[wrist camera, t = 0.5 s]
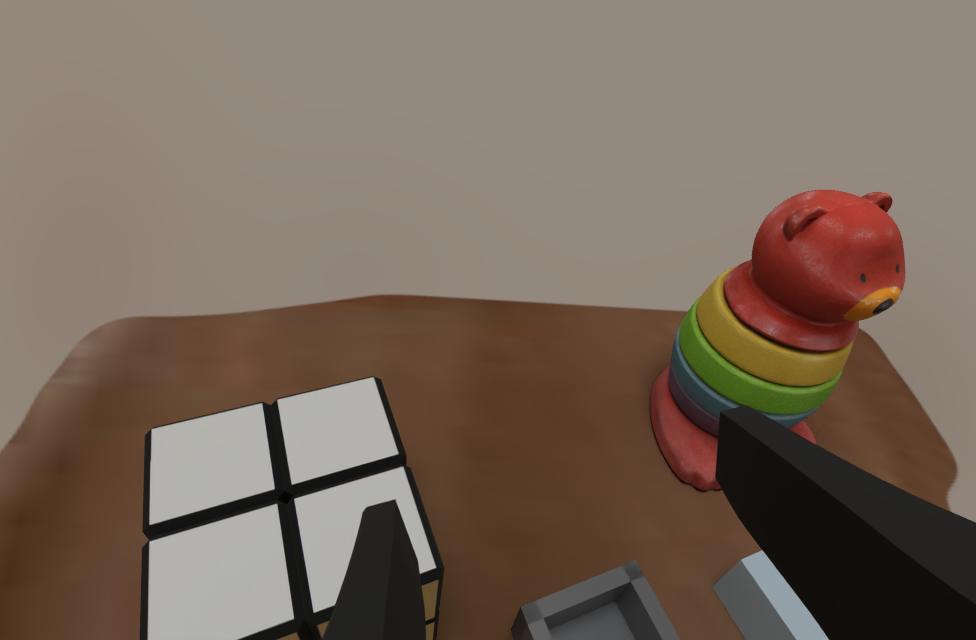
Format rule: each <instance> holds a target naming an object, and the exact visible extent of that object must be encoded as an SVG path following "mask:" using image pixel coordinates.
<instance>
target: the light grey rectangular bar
mask: <svg viewBox="0 0 976 640" xmlns="http://www.w3.org/2000/svg"><path fill="white" fill-rule="evenodd" d="M712 587H713V589H714V591H715V592H716V594H717V595H718V597H719V598H720V600H721V601H722V603H723V605H724V606H725V608H726V609H727V611H728V612H729V614H730V616H731V617H732V619H733V620H734V622H735V623H736V625H737V626H738V628H739V630H740V631H741V633H742V634H743V636H744V637H745V639H746V640H829V639H828V638H827V636H826V635H825V633H824V632H823V630H822V629H821V628H820V626H819V625H818V623H817V622H816V620H815V619H814V618H813V616H812V615H811V613H810V612H809V611H808V609H807V608H806V607H805V605H804V604H803V603H802V602H801V600H800V599H799V598H798V596H797V595H796V594H795V592H794V591H793V590H792V588H791V587H790V586H789V584H788V583H787V582H786V581H785V579H784V578H783V577H782V575H781V574H780V573H779V571H778V570H777V569H776V567H775V566H774V565H773V563H772V562H771V561H770V560H769V558H768V557H767V556H766V554H765V553H764V552H763V550H762V551H760V552H758V553H755V554H753V555H751V556H749V557H746V558H744V559H742V560H740V561H739V562H738V563H737V564H736V565H735V566H734V567H733V568H732V569H731V570H730V571H729V572H727V573H726V574H725V575H724V576H723V577H722V578H721V579H720V580H719V581H718V582H717V583H716V584H715V585H714V586H712Z"/></svg>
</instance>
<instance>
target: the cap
mask: <svg viewBox="0 0 976 640" xmlns="http://www.w3.org/2000/svg"><path fill="white" fill-rule="evenodd" d="M511 631H512V634H513V636H514V639H515V640H680V638H679V636H678V635H677V633H676V631H675V629H674V628H673V626H672V624H671V622H670V620H669V619H668V617H667V615H666V613H665V612H664V610H663V608H662V606H661V604H660V603H659V601H658V599H657V597H656V596H655V594H654V592H653V590H652V588H651V587H650V585H649V583H648V581H647V580H646V578H645V576H644V574H643V572H642V571H641V569H640V567H639V565H638V564H637V562H636V560H635V561H632V562H630V563H627V564H625V565H622V566H620V567H618V568H615V569H613V570H610V571H608V572H605V573H603V574H600V575H598V576H595V577H593V578H591V579H588V580H586V581H583V582H581V583H578V584H576V585H573V586H571V587H568V588H566V589H563V590H561V591H559V592H556V593H554V594H551V595H549V596H546V597H544V598H541V599H539V600H536V601H534V602H532V603H529V604H527V605H524V606H522V607H520V610H519V612H518V614H517V617H516V619H515V621H514V624H513V626H512V628H511Z"/></svg>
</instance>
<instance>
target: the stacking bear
mask: <svg viewBox="0 0 976 640" xmlns="http://www.w3.org/2000/svg"><path fill="white" fill-rule="evenodd" d="M891 205H892V198H891V196H890V195H888V194H886V193H881V192H873V193H869V194H867V195H865V196H863V197H858V196H856V195H853V194H849V193H846V192H841V191H835V190H814V191H807V192H803V193H800V194H798V195H795V196H793V197H791V198H789V199H787V200H785V201H784V202H782V203H781V204H779V205H778V206H777V207H776V208H774V209H773V211H771V212H770V213H769V214H768V216H767V217H766V218H765V220H764V221H763V223H762V225H761V226H760V228H759V230H758V232H757V235H756V237H755V240H754V244H753V250H752V260H750V261H747V262H744V263H742V264H740V265H739V266H737V267H734V268H731V269H729V270H727V271H725V272H724V273H722V274H721V275H720V276H719V277H718V278H717V279H716V280H715V281H714V282H713V283H712V284H711V285H710V286H709V287H708V288H707V289H706V291H705V292H704V293H703V294H702V296H700V297H699V298H698V299H697V301H696V302H695V303H694V304H693V305H692V307H691V308H690V310H689V311H688V313H687V314H686V316H685V317H684V319H683V321H682V323H681V325H680V327H679V329H678V331H677V334H676V337H675V341H674V345H673V350H672V359H671V364H670V365H669V366H668V367H667V368H665V369H664V370H663V371H662V372H661V373H660V375H659V376H658V377H657V379H656V381H655V382H654V385H653V388H652V392H651V401H650V411H651V420H652V425H653V429H654V433H655V436H656V439H657V441H658V444H659V446H660V448H661V451H662V453H663V455H664V456H665V458H666V460H667V462H668V463H669V465H670V467H671V468H672V470H673V471H674V472H675V474H676V475H677V476H678V477H679V478H680V479H681V480H682V481H683V482H685V483H688V484H691V485H693V486H694V487H696V488H697V489H700V490H709V489H715V490H717V489H721V487H720V485H719V483H718V482H717V480H716V478H715V473H716V459H717V446H718V432H719V419H720V412H721V411H725V410H728V409H732V408H736V407H739V406H743V405H747V406H749V407H751V408H753V409H755V410H757V411H758V412H760V413H762V414H764V415H765V416H767V417H769V418H771V419H772V420H774V421H776V422H778V423H779V424H781V425H783V426H785V427H786V428H788V429H790V430H792V431H793V432H795V433H797V434H799V435H800V436H802V437H804V438H806V439H807V440H809V441H811V442H813V443H814V444H816V441H815V438H814V436H813V434H812V432H811V430H810V429H809V427H808V426H807V424H806V423H805V422H804V419H805V418H807V417H808V416H809V415H810V414H812V413H813V412H814V411H815V410H816V409H817V408H818V407H819V406H820V405H821V404H822V403H823V402H824V401H825V400H826V399H827V398H828V397H829V395H830V394H831V392H832V391H833V389H834V387H835V386H836V384H837V382H838V380H839V378H840V376H841V373H842V370H843V366H844V365H845V363H846V361H847V358H848V356H849V354H850V351H851V348H852V345H853V342H854V339H855V338H856V336H857V332H858V326H859V323H858V321H859V320H864V319H867V318H870V317H872V316H875V315H877V314H879V313H881V312H883V311H885V310H886V309H888V308H890V307H891V306H892V305H893V304H895V302H896V301H897V300H898V299H899V296H900V294H901V291H902V289H903V286H904V282H905V260H904V249H903V242H902V237H901V234H900V231H899V229H898V227H897V225H896V223H895V222H894V221H893V219H892V218H891V217H890V216H889V215H888V214H887V212H888V210H889V209H890V207H891Z"/></svg>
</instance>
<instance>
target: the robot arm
mask: <svg viewBox="0 0 976 640" xmlns="http://www.w3.org/2000/svg"><path fill="white" fill-rule="evenodd" d="M715 478H716V480H717V482H718V483H719V485H720V487H721V489H722V490H723V492H724V494H725V496H726V498H727V499H728V501H729V503H730V504H731V506H732V508H733V509H734V511H735V513H736V514H737V516H738V518H739V519H740V521H741V522H742V523H743V525H744V526H745V528H746V529H747V530H748V532H749V533H750V534H751V536H752V537H753V538H754V540H755V541H756V542H757V544H758V545H759V546H760V548H761V549H762V550H763V552H764V553H765V554H766V556H767V557H768V558H769V560H770V561H771V562H772V563H773V565H774V566H775V567H776V569H777V570H778V571H779V573H780V574H781V575H782V577H783V578H784V579H785V581H786V582H787V583H788V584H789V586H790V587H791V588H792V590H793V591H794V592H795V594H796V595H797V596H798V598H799V599H800V600H801V602H802V603H803V604H804V605H805V607H806V608H807V609H808V611H809V612H810V613H811V615H812V616H813V618H814V619H815V620H816V622H817V623H818V625H819V626H820V628H821V629H822V630H823V632H824V633H825V635H826V636H827V638H828V639H829V640H976V523H975V522H973V521H971V520H968V519H966V518H964V517H961V516H959V515H957V514H954V513H952V512H950V511H947V510H945V509H943V508H940V507H938V506H936V505H934V504H931V503H929V502H927V501H925V500H923V499H920V498H918V497H916V496H914V495H912V494H910V493H908V492H906V491H904V490H902V489H900V488H898V487H896V486H894V485H892V484H890V483H888V482H886V481H884V480H881V479H879V478H877V477H876V476H874V475H872V474H870V473H868V472H866V471H864V470H862V469H860V468H858V467H856V466H854V465H853V464H851V463H849V462H847V461H845V460H843V459H841V458H840V457H838V456H836V455H834V454H832V453H830V452H829V451H827V450H825V449H823V448H821V447H820V446H818V445H816V444H814V443H813V442H811V441H809V440H807V439H806V438H804V437H802V436H800V435H799V434H797V433H795V432H793V431H792V430H790V429H788V428H786V427H785V426H783V425H781V424H779V423H778V422H776V421H774V420H772V419H771V418H769V417H767V416H765V415H764V414H762V413H760V412H758V411H757V410H755V409H753V408H751V407H749V406H747V405H743V406H739V407H736V408H732V409H728V410H725V411H721V412H720V419H719V432H718V446H717V459H716V473H715ZM322 640H426V621H425V607H424V599H423V592H422V585H421V578H420V571H419V564H418V559H417V556H416V554H415V551H414V548H413V546H412V543H411V540H410V537H409V535H408V532H407V529H406V527H405V524H404V521H403V518H402V516H401V513H400V510H399V508H398V505H397V502H396V499H394V500H390V501H387V502H383V503H379V504H375V505H372V506H368V507H366V508H365V510H364V511H363V512H362V517H361V521H360V525H359V529H358V533H357V537H356V541H355V544H354V548H353V551H352V555H351V558H350V561H349V565H348V568H347V571H346V574H345V577H344V580H343V583H342V586H341V589H340V592H339V595H338V597H337V600H336V603H335V606H334V609H333V612H332V615H331V617H330V620H329V623H328V625H327V628H326V630H325V633H324V635H323V638H322Z"/></svg>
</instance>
